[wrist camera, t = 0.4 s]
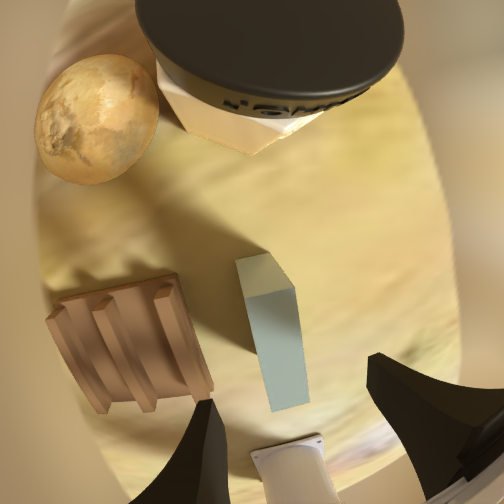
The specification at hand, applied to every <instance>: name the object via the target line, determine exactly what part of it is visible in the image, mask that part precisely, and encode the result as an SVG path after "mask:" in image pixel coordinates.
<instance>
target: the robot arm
mask: <svg viewBox="0 0 504 504" xmlns="http://www.w3.org/2000/svg"><path fill="white" fill-rule="evenodd" d="M366 387H367V389H368V391H369V393H370V395H371V397H372V399H373V401H374V403H375V404H376V406H377V407H378V409H379V410H380V411H381V413H382V414H383V416H384V417H385V418H386V420H387V421H388V423H389V424H390V425H391V427H392V428H393V430H394V431H395V432H396V434H397V435H398V437H399V439H400V440H401V442H402V444H403V446H404V448H405V450H406V452H407V454H408V456H409V458H410V460H411V462H412V464H413V466H414V468H415V471H416V473H417V476H418V478H419V481H420V483H421V486H422V489H423V492H424V495H425V498H426V502H424V503H422V504H498V503H499V502H500V501H501V500H502V499H503V498H504V389H481V388H471V387H465V386H459V385H454V384H450V383H447V382H443V381H440V380H437V379H434V378H431V377H429V376H426V375H424V374H422V373H419V372H417V371H415V370H413V369H411V368H409V367H407V366H405V365H403V364H401V363H399V362H397V361H395V360H393V359H391V358H389V357H387V356H386V355H384V354H382V353H380V352H379V353H376V354H373V355H371V356H368V368H367V385H366ZM251 457H252V460H253V462H254V464H255V466H256V469H257V471H258V473H259V475H260V477H261V480H262V482H263V486H264V491H265V496H266V501H267V504H341V503H340V500H339V498H338V495H337V493H336V490H335V488H334V485H333V483H332V480H331V478H330V475H329V473H328V470H327V467H326V465H325V462H324V439H323V436H322V435H316V436H313V437H309V438H306V439H302V440H298V441H295V442H291V443H287V444H283V445H279V446H274V447H270V448H265V449H261V450H256V451H252V452H251ZM129 504H231V503H230V497H229V490H228V464H227V441H226V434H225V427H224V424H223V422H222V420H221V417H220V415H219V413H218V410H217V408H216V406H215V403H214V401H213V399H206V400H199V401H198V402H197V405H196V408H195V411H194V413H193V416H192V418H191V420H190V423H189V425H188V427H187V429H186V431H185V434H184V436H183V438H182V440H181V441H180V443H179V445H178V447H177V449H176V450H175V452H174V454H173V455H172V457H171V458H170V460H169V461H168V463H167V464H166V466H165V467H164V468H163V470H162V471H161V472H160V473H159V475H158V476H157V477H156V478H155V479H154V481H153V482H152V483H151V484H150V485H149V486H148V487H147V488H146V489H145V490H144V491H143V492H142V493H141V494H139V495H138V496H137V497H136V498H135V499H134V500H132V501H131V502H130V503H129ZM342 504H345V503H342Z"/></svg>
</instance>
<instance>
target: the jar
mask: <svg viewBox="0 0 504 504" xmlns="http://www.w3.org/2000/svg"><path fill="white" fill-rule="evenodd" d="M135 9H136V15H137V19H138V22H139V25H140V27H141V29H142V31H143V33H144V35H145V37H146V39H147V41H148V43H149V45H150V47H151V49H152V51H153V53H154V55H155V57H156V66H157V82H158V87H159V88H160V90H161V91H162V93H163V95H164V96H165V98H166V99H167V101H168V102H169V104H170V106H171V107H172V109H173V110H174V112H175V114H176V115H177V117H178V118H179V120H180V122H181V123H182V125H183V126H184V128H185V130H186V131H187V132H188V133H191V134H194V135H197V136H200V137H203V138H205V139H208V140H211V141H213V142H216V143H219V144H221V145H224V146H227V147H229V148H232V149H234V150H237V151H239V152H242V153H244V154H247V155H249V156H253V155H255V154H256V153H258V152H259V151H261V150H262V149H264V148H265V147H267V146H269V145H270V144H272V143H273V142H275V141H276V140H278V139H283V138H285V137H287V136H289V135H290V134H292V133H293V132H295V131H296V130H298V129H299V128H301V127H302V126H304V125H305V124H307V123H308V122H310V121H311V120H313V119H314V118H316V117H317V116H319V115H320V114H322V113H323V112H324V111H327V110H329V109H331V108H333V107H336V106H340V105H342V104H344V103H346V102H348V101H350V100H352V99H354V98H356V97H358V96H359V95H361V94H363V93H364V92H366V91H367V90H368V89H370V87H371V86H373V85H374V84H376V83H377V82H379V81H380V80H381V79H382V78H383V77H385V76H386V75H387V74H388V73H389V71H390V70H391V69H392V68H393V67H394V65H395V64H396V62H397V60H398V58H399V56H400V54H401V51H402V47H403V43H404V21H403V15H402V12H401V8H400V6H399V3H398V1H397V0H135Z"/></svg>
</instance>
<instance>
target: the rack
mask: <svg viewBox="0 0 504 504" xmlns="http://www.w3.org/2000/svg"><path fill="white" fill-rule="evenodd" d="M53 305H54V308H55V311H54V312H53V313H52V314H51V315H49V316H48V317H47V318H46V319H45V322H46V324H47V326H48V329H49V331H50V333H51V335H52V337H53V339H54V341H55V343H56V345H57V347H58V349H59V351H60V353H61V355H62V357H63V358H64V360H65V362H66V364H67V366H68V368H69V369H70V371H71V373H72V374H73V376H74V378H75V380H76V381H77V383H78V385H79V386H80V388H81V389H82V391H83V393H84V394H85V396H86V397H87V399H88V400H89V402H90V403H91V405H92V406H93V408H94V409H95V411H96V412H97V413H98V414H107V413H108V411H109V408H110V405H111V403H112V402H123V401H137V403H138V404H139V406H140V408H141V409H142V411H143V413H144V412H155V408H156V403H157V399H161V398H170V397H178V396H186V395H192V397H193V399H194V401H195V403H196V405H197V402H198V401H199V400H206V399H210V392H212V391H214V383H213V381H212V378H211V375H210V373H209V370H208V367H207V365H206V362H205V359H204V356H203V354H202V351H201V348H200V345H199V342H198V339H197V337H196V334H195V331H194V328H193V325H192V322H191V319H190V315H189V312H188V309H187V306H186V303H185V300H184V296H183V293H182V290H181V287H180V283H179V280H178V276H177V273H176V274H171V275H167V276H162V277H158V278H153V279H149V280H144V281H140V282H135V283H131V284H126V285H122V286H117V287H113V288H108V289H103V290H99V291H94V292H90V293H85V294H80V295H76V296H71V297H67V298H62V299H58V300H57V301H56V302H55V303H54V304H53Z"/></svg>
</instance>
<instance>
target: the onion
mask: <svg viewBox="0 0 504 504" xmlns="http://www.w3.org/2000/svg"><path fill="white" fill-rule="evenodd" d="M158 116H159V98H158V93H157V90H156V87H155V84H154V82H153V80H152V78H151V76H150V75H149V73H148V72H147V71H146V70H145V69H144V68H143V67H142V66H141V65H140V64H139V63H137V62H136V61H134V60H132V59H130V58H128V57H125V56H122V55H116V54H103V55H96V56H92V57H88V58H85V59H83V60H81V61H78V62H76V63H75V64H73V65H71V66H70V67H68V68H67V69H66V70H64V71H63V72H62V73H61V74H60V75H59V76H58V77H57V78H56V79H55V80H54V81H53V82H52V83H51V85H50V86H49V88H48V89H47V90H46V92H45V93H44V95H43V97H42V99H41V101H40V104H39V107H38V111H37V115H36V122H35V142H36V145H37V148H38V151H39V154H40V157H41V160H42V162H43V163H44V165H45V166H46V168H47V169H48V170H49V171H50V172H52V173H53V174H55V175H56V176H58V177H60V178H62V179H64V180H66V181H69V182H72V183H76V184H81V185H93V184H99V183H104V182H107V181H110V180H112V179H114V178H116V177H118V176H120V175H122V174H123V173H125V172H126V171H127V170H128V169H130V168H131V167H132V166H133V165H134V164H135V163H136V162H137V161H138V160H139V158H140V157H141V156H142V155H143V153H144V152H145V150H146V148H147V147H148V145H149V144H150V141H151V140H152V137H153V135H154V134H155V131H156V127H157V122H158Z"/></svg>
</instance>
